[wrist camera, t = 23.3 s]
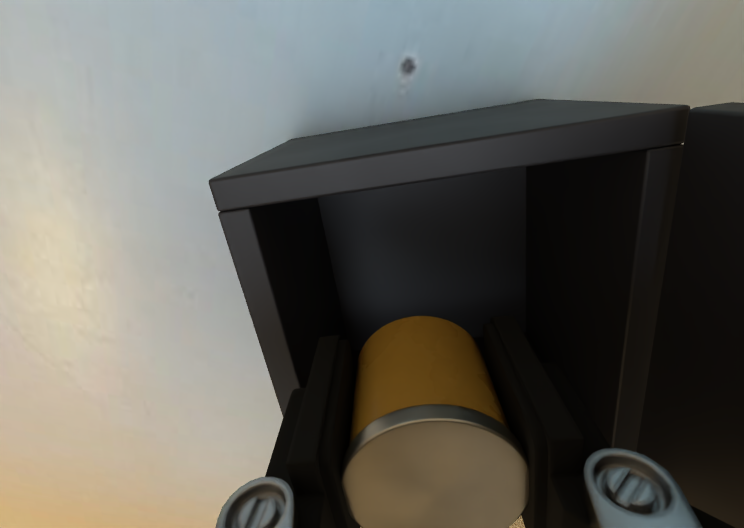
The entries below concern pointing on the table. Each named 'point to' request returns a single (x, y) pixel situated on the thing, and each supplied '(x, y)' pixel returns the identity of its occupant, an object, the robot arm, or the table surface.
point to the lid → (703, 323)
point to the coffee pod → (430, 434)
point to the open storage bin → (468, 238)
